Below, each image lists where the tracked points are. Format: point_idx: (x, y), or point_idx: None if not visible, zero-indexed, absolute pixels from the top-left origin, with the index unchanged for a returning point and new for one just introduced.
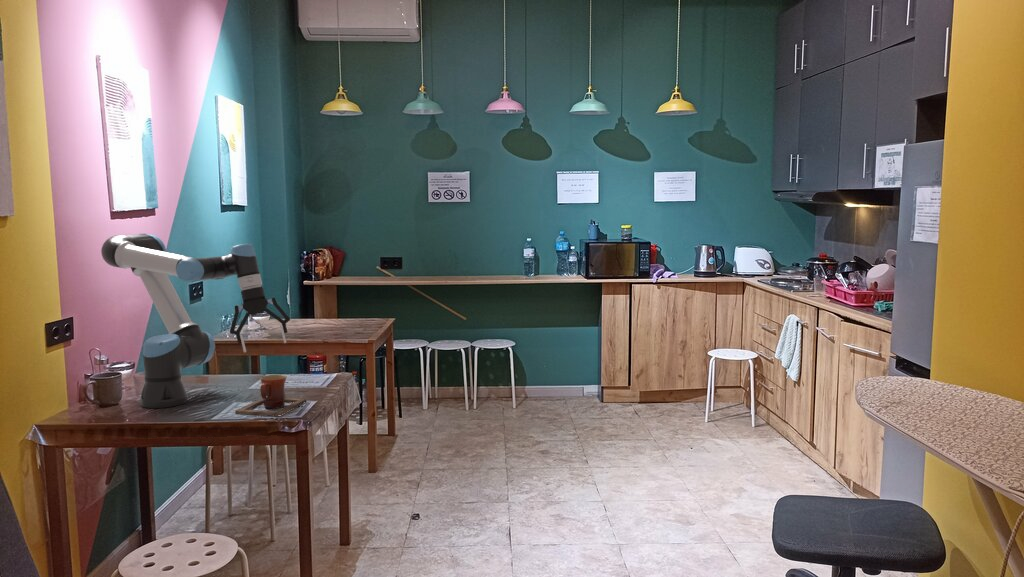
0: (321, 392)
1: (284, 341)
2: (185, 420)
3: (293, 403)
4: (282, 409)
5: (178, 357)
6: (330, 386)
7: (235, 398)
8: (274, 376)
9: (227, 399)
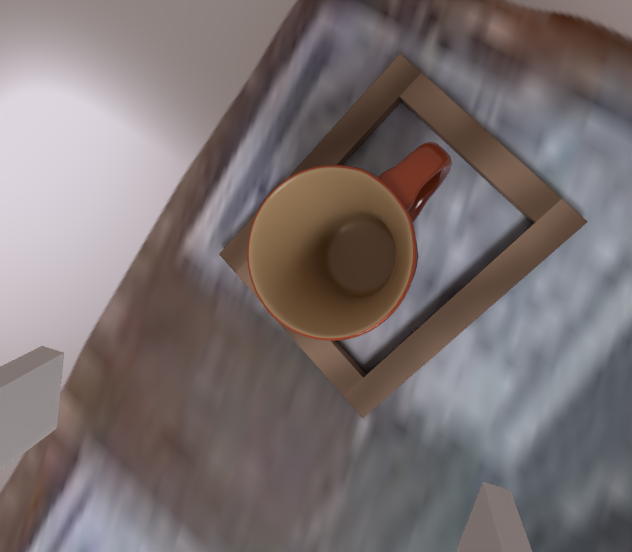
0: (126, 374)
1: (44, 358)
2: None
3: None
4: (366, 121)
5: None
6: (68, 448)
7: None
8: (301, 322)
9: None
